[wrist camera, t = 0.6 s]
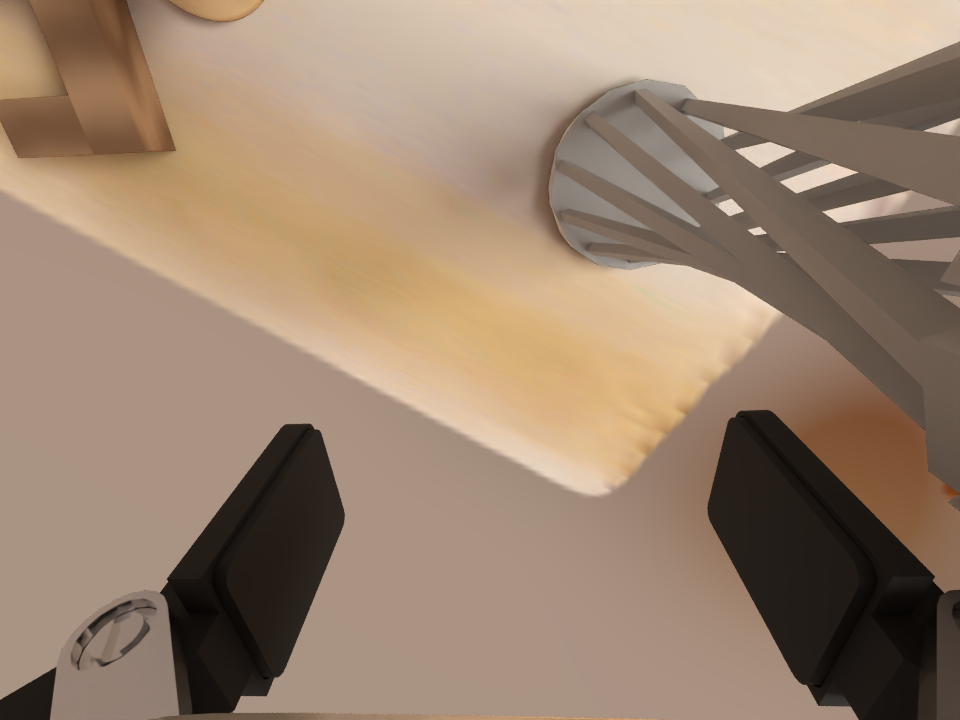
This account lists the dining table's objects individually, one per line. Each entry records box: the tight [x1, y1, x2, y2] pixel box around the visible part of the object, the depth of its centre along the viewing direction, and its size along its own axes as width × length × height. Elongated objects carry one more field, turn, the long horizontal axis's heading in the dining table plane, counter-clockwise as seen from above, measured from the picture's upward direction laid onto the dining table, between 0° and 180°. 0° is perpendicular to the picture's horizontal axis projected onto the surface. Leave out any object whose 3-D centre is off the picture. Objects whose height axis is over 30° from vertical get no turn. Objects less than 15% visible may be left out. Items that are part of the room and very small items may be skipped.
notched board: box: [0, 0, 176, 158], centre depth 30 cm, size 14×10×4 cm
